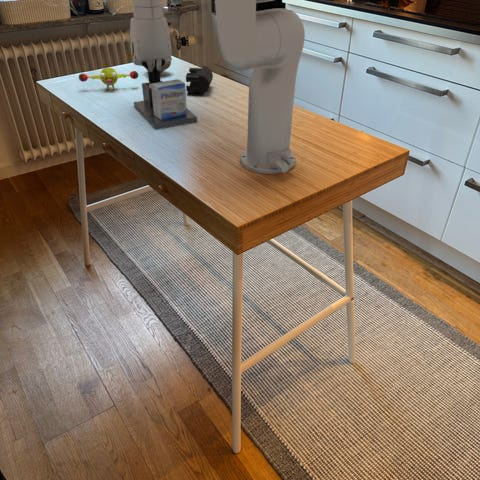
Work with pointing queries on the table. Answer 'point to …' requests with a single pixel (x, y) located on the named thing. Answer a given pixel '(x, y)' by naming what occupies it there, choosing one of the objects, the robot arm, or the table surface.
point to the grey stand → (148, 113)
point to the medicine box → (169, 99)
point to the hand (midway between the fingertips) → (154, 84)
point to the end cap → (198, 81)
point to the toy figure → (108, 76)
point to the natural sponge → (162, 66)
